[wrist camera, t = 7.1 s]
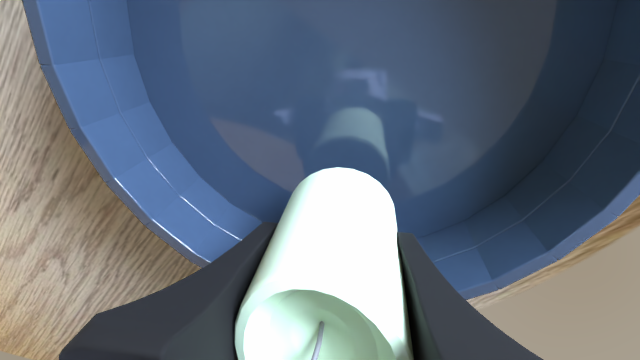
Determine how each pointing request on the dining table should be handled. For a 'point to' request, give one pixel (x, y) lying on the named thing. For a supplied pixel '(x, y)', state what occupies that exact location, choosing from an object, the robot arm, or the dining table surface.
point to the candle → (329, 277)
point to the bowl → (358, 116)
